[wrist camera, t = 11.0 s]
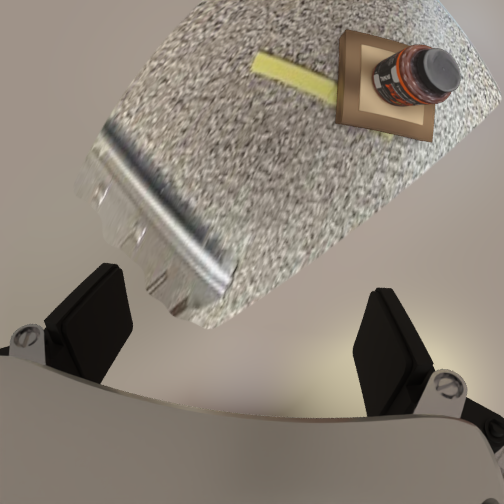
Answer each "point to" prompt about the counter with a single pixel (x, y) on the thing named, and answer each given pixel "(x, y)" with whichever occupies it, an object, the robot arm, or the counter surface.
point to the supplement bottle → (416, 76)
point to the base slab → (365, 96)
